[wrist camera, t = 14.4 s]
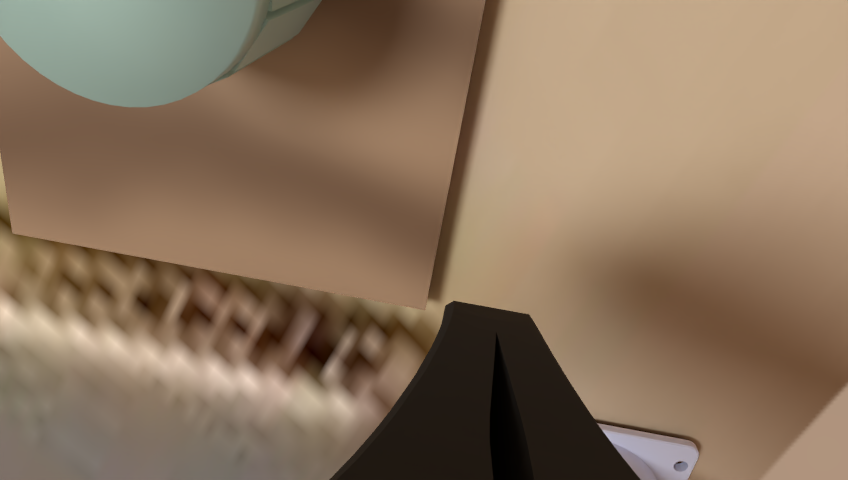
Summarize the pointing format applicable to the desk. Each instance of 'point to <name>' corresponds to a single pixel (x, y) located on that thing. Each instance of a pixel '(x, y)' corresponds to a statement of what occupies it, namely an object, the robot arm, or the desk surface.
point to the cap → (146, 43)
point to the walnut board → (263, 155)
